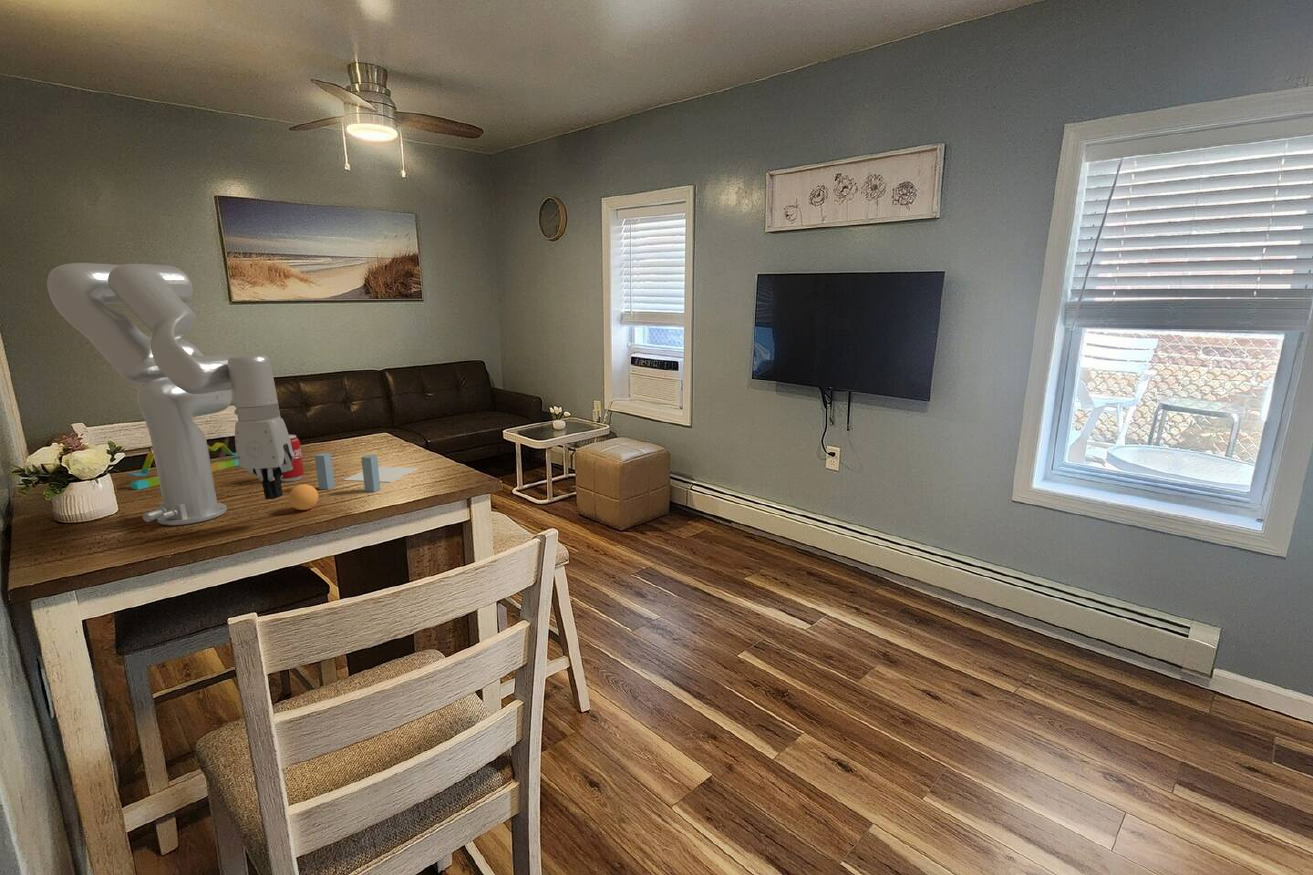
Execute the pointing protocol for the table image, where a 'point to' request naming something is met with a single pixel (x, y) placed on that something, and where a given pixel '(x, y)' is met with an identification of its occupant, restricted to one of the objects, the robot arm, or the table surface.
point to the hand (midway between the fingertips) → (274, 497)
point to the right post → (370, 473)
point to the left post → (324, 471)
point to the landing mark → (385, 474)
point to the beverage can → (294, 462)
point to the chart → (155, 480)
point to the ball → (303, 497)
